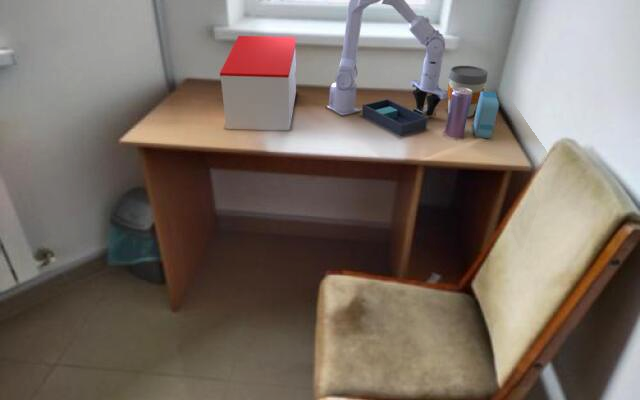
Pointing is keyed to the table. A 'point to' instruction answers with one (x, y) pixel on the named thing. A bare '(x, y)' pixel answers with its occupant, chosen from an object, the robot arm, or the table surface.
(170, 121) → the table surface
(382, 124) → the box
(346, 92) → the robot arm
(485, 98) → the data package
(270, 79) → the red-topped white block
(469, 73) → the lidded jar
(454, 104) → the beverage can
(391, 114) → the block
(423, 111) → the silver metal block
